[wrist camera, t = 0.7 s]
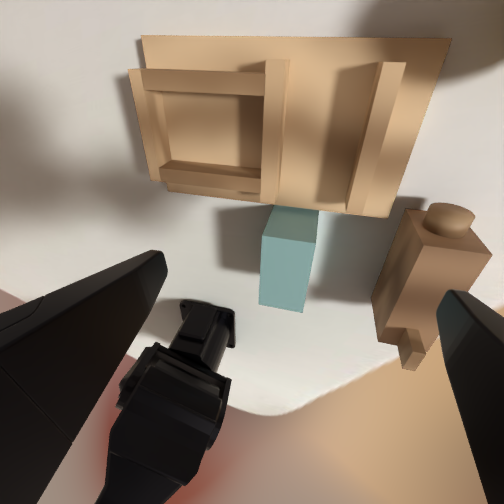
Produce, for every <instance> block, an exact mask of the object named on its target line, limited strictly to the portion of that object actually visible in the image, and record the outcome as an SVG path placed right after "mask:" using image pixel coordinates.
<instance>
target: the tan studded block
mask: <svg viewBox="0 0 504 504" xmlns="http://www.w3.org/2000/svg"><path fill="white" fill-rule="evenodd" d="M474 219H475V215H474V214H473V213H472V212H471V211H469V210H468V209H466V208H463V207H461V206H457V205H454V204H449V203H433V204H431V205H430V206H429V209H428V211H423V210H414V209H405V212H404V214H403V217H402V219H401V222H400V224H399V227H398V230H397V232H396V235H395V237H394V240H393V242H392V245H391V247H390V250H389V253H388V255H387V258H386V260H385V263H384V265H383V268H382V271H381V273H380V276H379V278H378V281H377V283H376V286H375V288H374V291H373V294H372V296H371V301H372V307H373V313H374V320H375V326H376V332H377V339H378V342H382V343H387V344H392V345H397V346H398V351H399V355H400V360H401V364H402V368H403V369H407V370H412V371H415V370H416V369H417V367H418V366H419V364H420V363H421V361H422V359H423V358H424V357H425V355H426V352H427V351H428V350H429V349H430V347H431V346H432V344H433V343H434V341H435V340H436V338H437V337H438V335H439V330H438V325H437V319H436V310H437V308H438V306H439V304H440V302H441V300H442V298H443V296H444V295H445V293H446V291H447V290H449V289H456V290H463V291H467V292H468V291H469V289H470V288H471V286H472V285H473V283H474V282H475V280H476V279H477V277H478V276H479V274H480V273H481V271H482V270H483V268H484V267H485V265H486V264H487V263H488V261H489V260H490V258H491V257H492V254H491V252H490V251H489V250H488V249H487V247H486V246H485V245H484V244H483V243H482V241H481V240H480V239H479V238H478V236H477V235H476V234H475V233H474V232H473V230H472V229H471V228H470V226H471V224H472V222H473V220H474ZM425 351H426V352H425Z"/></svg>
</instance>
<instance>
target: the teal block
mask: <svg viewBox="0 0 504 504" xmlns="http://www.w3.org/2000/svg"><path fill="white" fill-rule="evenodd" d="M318 215H319V210H313V209H305V208H297V207H289V206H281V205H274V207H273V209H272V212H271V214H270V217H269V219H268V222H267V224H266V227H265V229H264V232H263V234H262V245H261V265H260V285H259V305H265V306H270V307H275V308H280V309H285V310H290V311H295V312H300V313H303V308H304V303H305V297H306V292H307V287H308V282H309V276H310V271H311V266H312V261H313V256H314V250H315V245H316V236H317V226H318Z"/></svg>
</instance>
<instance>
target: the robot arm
mask: <svg viewBox="0 0 504 504" xmlns="http://www.w3.org/2000/svg"><path fill="white" fill-rule="evenodd" d="M167 273H168V269H167V265H166V261H165V257H164V254H163V252H162V251H157V250H149V251H147V252H144V253H142V254H140V255H137V256H135V257H133V258H130V259H128V260H126V261H123V262H121V263H119V264H116V265H114V266H112V267H109V268H107V269H105V270H102V271H100V272H98V273H95V274H93V275H91V276H89V277H86V278H84V279H82V280H79V281H77V282H75V283H72V284H70V285H68V286H65V287H63V288H61V289H58V290H56V291H54V292H51V293H49V294H47V295H45V296H42V297H39V298H37V299H35V300H32V301H30V302H28V303H25V304H23V305H21V306H18V307H16V308H13V309H11V310H9V311H6V312H3V313H1V314H0V504H37V502H38V501H39V499H40V497H41V496H42V494H43V492H44V490H45V489H46V487H47V486H48V484H49V482H50V480H51V479H52V477H53V475H54V473H55V472H56V470H57V469H58V467H59V465H60V464H61V462H62V460H63V459H64V457H65V455H66V454H67V452H68V450H69V449H70V447H71V445H72V442H73V441H74V440H75V438H76V436H77V435H78V433H79V431H80V430H81V428H82V426H83V424H84V423H85V421H86V420H87V418H88V416H89V414H90V412H91V411H92V409H93V408H94V406H95V404H96V403H97V401H98V399H99V398H100V396H101V394H102V392H103V391H104V389H105V387H106V386H107V384H108V382H109V381H110V379H111V377H112V376H113V374H114V372H115V371H116V369H117V367H118V366H119V364H120V362H121V361H122V359H123V357H124V356H125V354H126V352H127V350H128V349H129V347H130V345H131V344H132V342H133V340H134V339H135V337H136V335H137V334H138V332H139V330H140V329H141V327H142V325H143V324H144V322H145V320H146V319H147V317H148V315H149V313H150V311H151V309H152V307H153V305H154V303H155V301H156V299H157V297H158V294H159V292H160V290H161V288H162V286H163V283H164V281H165V279H166V277H167ZM180 309H181V314H182V319H183V323H182V325H181V327H180V328H179V330H178V332H177V334H176V335H175V337H174V339H173V341H172V342H171V344H170V346H169V348H166V347H164V346H162V345H160V343H158V342H155V343H154V345H153V346H151V347H146V348H145V349H144V351H143V352H142V354H141V355H140V357H139V358H138V360H137V361H136V362H135V364H134V365H133V366H132V368H131V369H130V370H129V371H128V372H127V374H126V375H125V376H124V378H123V379H122V380H121V382H120V384H119V388H120V394H119V400H118V402H117V404H116V406H115V407H116V408H118V409H120V410H122V411H121V413H120V414H119V416H118V418H117V420H116V421H115V423H114V425H113V426H112V428H111V431H110V436H109V446H108V457H107V467H106V478H105V485H104V487H103V489H102V491H101V493H100V495H99V496H98V498H97V500H96V502H95V504H164V503H165V502H166V501H167V500H168V499H169V498H170V497H171V496H172V495H173V494H174V493H175V492H176V491H177V490H178V489H179V488H180V487H181V486H182V485H183V486H186V485H187V484H188V483H189V482H190V481H191V479H192V478H193V477H194V476H195V475H196V474H197V472H198V469H199V466H200V463H201V460H202V457H203V455H204V452H205V450H209V449H210V448H211V447H212V445H213V443H214V442H215V440H216V438H217V436H218V433H219V431H220V428H221V426H222V422H223V419H224V415H225V411H226V406H227V401H228V396H229V391H230V386H231V381H232V379H230V378H228V377H227V378H226V377H224V376H222V375H220V374H218V373H217V370H218V367H219V365H220V362H221V359H222V357H223V354H224V351H225V348H226V347H228V348H234V347H235V344H236V337H235V313H234V311H232V310H229V309H224V308H219V307H214V306H209V305H204V304H199V303H194V302H189V301H182V302H181V303H180ZM436 319H437V325H438V330H439V336H440V341H441V347H442V352H443V358H444V362H445V367H446V370H447V374H448V377H449V380H450V383H451V386H452V390H453V393H454V396H455V399H456V403H457V406H458V409H459V412H460V415H461V418H462V421H463V425H464V428H465V431H466V435H467V438H468V441H469V444H470V448H471V451H472V454H473V457H474V460H475V463H476V467H477V470H478V473H479V477H480V480H481V483H482V486H483V489H484V493H485V496H486V499H487V502H488V504H504V317H502V316H501V315H500V314H498V313H497V312H495V311H494V310H492V309H491V308H490V307H488V306H487V305H485V304H484V303H482V302H481V301H480V300H478V299H477V298H475V297H474V296H473V295H471V294H470V293H468V292H467V291H463V290H456V289H449V290H447V291H446V293H445V295H444V296H443V298H442V300H441V302H440V304H439V306H438V308H437V310H436Z"/></svg>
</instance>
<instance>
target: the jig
mask: <svg viewBox="0 0 504 504" xmlns="http://www.w3.org/2000/svg"><path fill="white" fill-rule="evenodd" d="M141 39H142V45H143V51H144V56H145V62H146V68H143V69H128V73H129V78H130V83H131V87H132V92H133V97H134V102H135V107H136V111H137V116H138V121H139V126H140V131H141V136H142V140H143V145H144V150H145V155H146V160H147V165H148V169H149V174H150V179H151V181H159V182H166V184H167V189H168V191H169V192H177V193H185V194H193V195H201V196H209V197H217V198H225V199H233V200H241V201H249V202H257V203H265V204H273V205H281V206H289V207H297V208H305V209H313V210H321V211H329V212H337V213H345V214H353V215H361V216H369V217H377V218H385V219H388V217H389V214H390V211H391V208H392V205H393V203H394V200H395V197H396V194H397V191H398V189H399V186H400V183H401V180H402V177H403V175H404V172H405V169H406V166H407V163H408V161H409V158H410V155H411V152H412V149H413V147H414V144H415V141H416V138H417V135H418V133H419V130H420V127H421V124H422V121H423V119H424V116H425V113H426V110H427V107H428V105H429V102H430V99H431V96H432V93H433V91H434V88H435V85H436V82H437V79H438V77H439V74H440V71H441V68H442V65H443V63H444V60H445V57H446V54H447V52H448V49H449V46H450V43H451V40H452V38H363V37H264V36H166V35H141Z"/></svg>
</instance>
